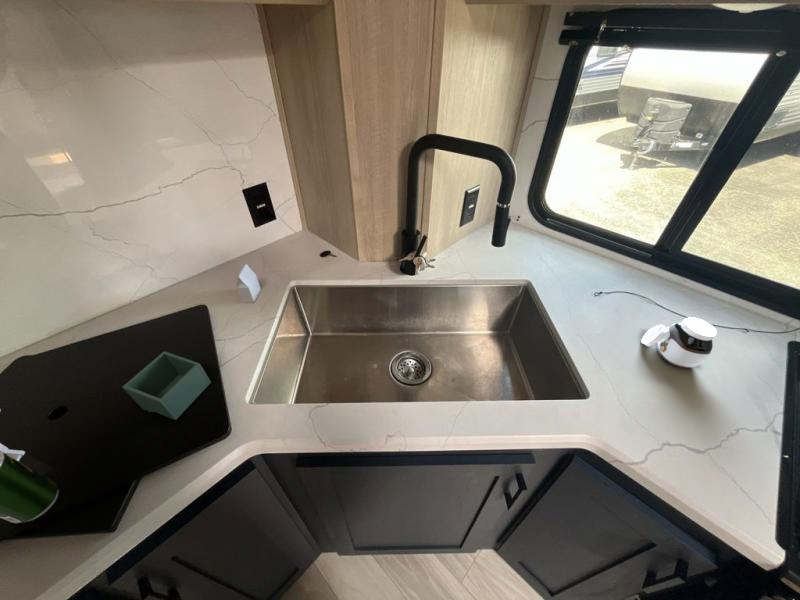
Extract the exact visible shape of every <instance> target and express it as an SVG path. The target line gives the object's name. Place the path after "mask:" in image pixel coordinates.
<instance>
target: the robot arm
mask: <svg viewBox="0 0 800 600" xmlns="http://www.w3.org/2000/svg"><path fill="white" fill-rule="evenodd" d="M1 411H2V409H1V408H0V412H1ZM0 451H2V452H4V453H5V454H7V455H9V456H11V457H12V458H14V459H16V460H17V461H19V462H21V461H22V459H23V457H24V455H25V454H26V451H25V450H18V449H9V447H7V446H6V445H4V444H2V443H1V442H0Z"/></svg>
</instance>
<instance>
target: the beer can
mask: <svg viewBox="0 0 800 600" xmlns="http://www.w3.org/2000/svg"><path fill="white" fill-rule="evenodd" d="M59 491H60V490H59V487H58V484H57V483H56V482H55V481H54V480H51V479H50V478H49V477H47V476H46V475H45V476H44V475H43V474H42V473H40V472H38V471H36V470H35V469H33V468H31V467H30V466H28V465H26V464H24V463H23V462H21V461H20V462H19V461H17V460H16V459H14V458H12V457H11V456H9V455H7V454H5V453H4V452H2V451H0V519H2V520H5V521H7V522H10V523H13V524H22V523H27V522H31V521H34V520H35V519H38V518H39V517H41V516H42V515H44V514H46V512H47V511H48V510H50V509H51V508H52V506H54V504H55V502H56V501H57V499H58V497H59V494H60V492H59Z"/></svg>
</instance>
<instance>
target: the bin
mask: <svg viewBox="0 0 800 600" xmlns="http://www.w3.org/2000/svg"><path fill="white" fill-rule="evenodd" d="M211 383H212V381H211V380H210V378H209V376H208V374H207V373H206V371H205V370H204V368H203V367H202V365H201V363H200V362H197V361H194V360H192V359H189V358H185V357H182V356H179V355H177V354H173V353H171V352H169V351H165V350H164V351H163V352H161V353H160V354H159V355H158V356H156V357H155V358H154V359H153V360H152V361H151V362H150V363H148V364H147V365H146V366H144V368H143V369H142V370H140V371H139V372H138V373H137V374H135V375H134V376H133V377H132V378H131V379H130V380H128V381H127V382H126V383H125V384H124V385H122V387H121V388H122V389H123V390H124V391H125V392H126V393H127V394H128V395H129V396H130V397H131V398H132V399H133V401H135V403H136V404H137V405H138V406H139V407H140V408H141V409H142V410H144V411H146V410H147V411H146V412H149V413H151V412H152V413H153V412H154V413H156V414H159V415H162V416H164V417H166V418H169V419H171V420H174V421H177V420H178V419H179V417H180V416H181V415H182V414H183V413H184V412H185V411H186V410H187V409H188V408H189V407H190V406H191V405H192V403H194V401H195V400H196V399H197V398H198V397H199V396H200V395H201V394H202V393H203V392H204V391H205V389H207V388H208V386H209V385H210V384H211Z"/></svg>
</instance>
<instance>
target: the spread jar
mask: <svg viewBox="0 0 800 600" xmlns="http://www.w3.org/2000/svg"><path fill="white" fill-rule="evenodd" d="M716 336H718V331H717V329H716V327H714V325H712V324H710V323H709V322H708V321H706V320H704V319H701V318H698V317H691V316H690V317H686V318H684V319H683V320H682V321H681V322H675V323H673V324H670V325H669V326H668V327H666V326H665V325H663V324H657V325H655V326H652V327H651V328H650V329H648V330H647V331H646V332H645V333H644V335H643V336H642V338H641V344H643V345H644V346H646V347H653V346H655V345H657V353H658V354H660V355H659V356H660V357H661V358H662V360H664V362H666V361H667V362H666V363H668V364H670V365H672V366H675V367H679V368H684V369H685V368H696V367H698V366H699V365H700V364H702V363H703V362H704V361H705V360H706V359H707V358H708V357H709V355H710V354H711V353H712V351H713V347H714V343H713V340H714V338H716Z"/></svg>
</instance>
